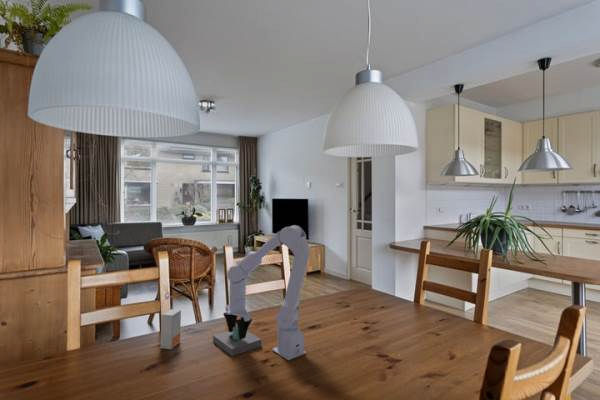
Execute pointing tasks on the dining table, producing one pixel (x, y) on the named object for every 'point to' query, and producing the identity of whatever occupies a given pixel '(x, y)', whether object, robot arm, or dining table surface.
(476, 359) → the dining table surface
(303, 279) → the robot arm
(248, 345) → the peg block
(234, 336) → the peg
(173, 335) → the skincare box
